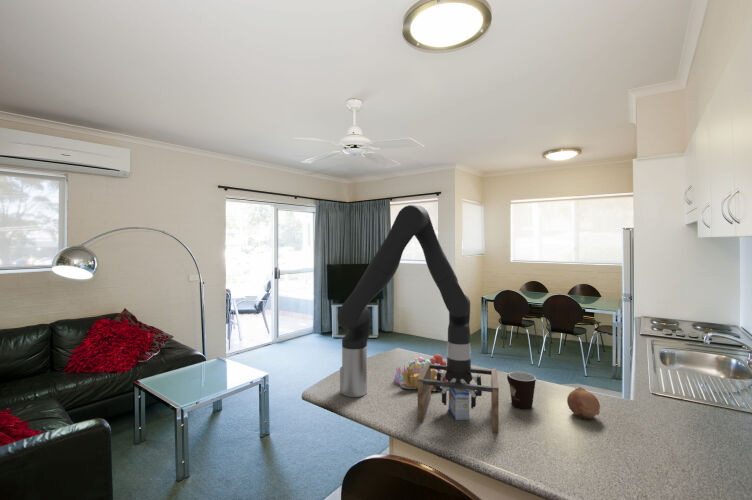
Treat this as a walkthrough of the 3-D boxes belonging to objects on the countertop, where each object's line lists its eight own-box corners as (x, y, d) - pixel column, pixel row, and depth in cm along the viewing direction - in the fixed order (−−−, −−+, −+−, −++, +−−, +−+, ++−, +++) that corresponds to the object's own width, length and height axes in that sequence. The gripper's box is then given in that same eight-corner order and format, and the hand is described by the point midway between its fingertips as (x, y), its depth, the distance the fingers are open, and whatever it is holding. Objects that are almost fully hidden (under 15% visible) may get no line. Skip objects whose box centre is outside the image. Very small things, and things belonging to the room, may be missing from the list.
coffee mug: (538, 412, 115) (538, 382, 115) (510, 410, 116) (510, 380, 116) (530, 397, 126) (530, 369, 126) (505, 395, 128) (505, 368, 128)
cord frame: (417, 421, 109) (417, 379, 109) (426, 398, 125) (426, 362, 125) (498, 432, 102) (498, 388, 102) (496, 407, 118) (496, 368, 118)
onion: (576, 419, 116) (571, 388, 120) (606, 421, 110) (601, 389, 114) (564, 417, 111) (560, 385, 115) (596, 419, 104) (590, 385, 109)
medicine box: (448, 408, 117) (448, 382, 117) (461, 408, 118) (461, 382, 118) (455, 420, 110) (455, 392, 109) (469, 419, 110) (469, 392, 110)
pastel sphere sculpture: (459, 394, 130) (459, 369, 130) (395, 393, 130) (396, 368, 130) (447, 370, 155) (447, 349, 155) (393, 370, 155) (393, 349, 155)
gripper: (435, 357, 112) (434, 408, 112) (481, 361, 108) (481, 414, 108) (437, 350, 119) (437, 398, 119) (481, 354, 115) (481, 403, 115)
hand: (458, 405), depth 114 cm, fingers open, 8 cm apart
